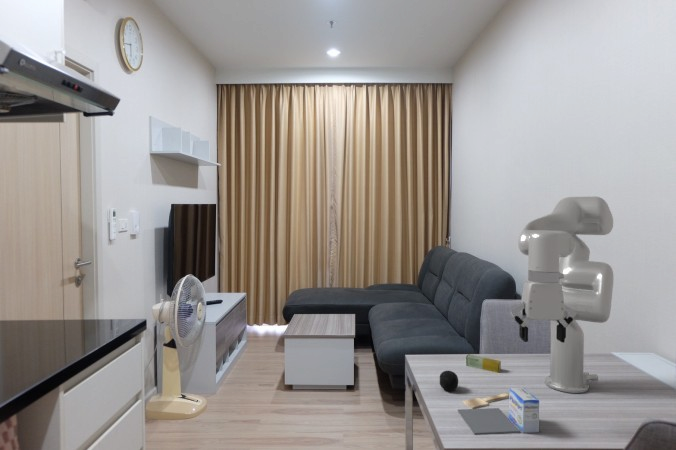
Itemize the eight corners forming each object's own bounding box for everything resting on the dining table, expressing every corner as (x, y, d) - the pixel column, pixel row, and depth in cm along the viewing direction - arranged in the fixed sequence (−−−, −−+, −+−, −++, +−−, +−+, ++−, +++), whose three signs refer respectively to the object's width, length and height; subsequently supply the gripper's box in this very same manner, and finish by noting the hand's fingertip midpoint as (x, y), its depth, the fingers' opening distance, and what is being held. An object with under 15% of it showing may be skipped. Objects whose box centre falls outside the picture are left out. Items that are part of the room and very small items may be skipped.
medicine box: (508, 418, 120) (508, 387, 120) (523, 417, 120) (524, 387, 120) (522, 433, 112) (523, 400, 112) (539, 432, 113) (539, 399, 112)
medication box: (465, 366, 160) (465, 355, 160) (468, 364, 162) (468, 353, 162) (499, 373, 153) (499, 362, 153) (501, 371, 155) (501, 360, 155)
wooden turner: (503, 393, 136) (503, 391, 136) (514, 399, 132) (514, 396, 132) (462, 403, 130) (462, 400, 130) (472, 409, 126) (472, 406, 126)
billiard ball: (459, 394, 136) (459, 375, 136) (439, 393, 137) (439, 374, 137) (457, 386, 142) (457, 368, 141) (438, 385, 143) (438, 367, 143)
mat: (498, 409, 125) (498, 408, 125) (520, 432, 112) (520, 431, 112) (457, 410, 125) (457, 409, 125) (474, 434, 112) (474, 432, 112)
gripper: (568, 276, 121) (567, 337, 121) (505, 275, 121) (504, 336, 121) (583, 279, 113) (582, 345, 113) (516, 279, 114) (515, 344, 114)
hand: (542, 340), depth 117 cm, fingers open, 9 cm apart
